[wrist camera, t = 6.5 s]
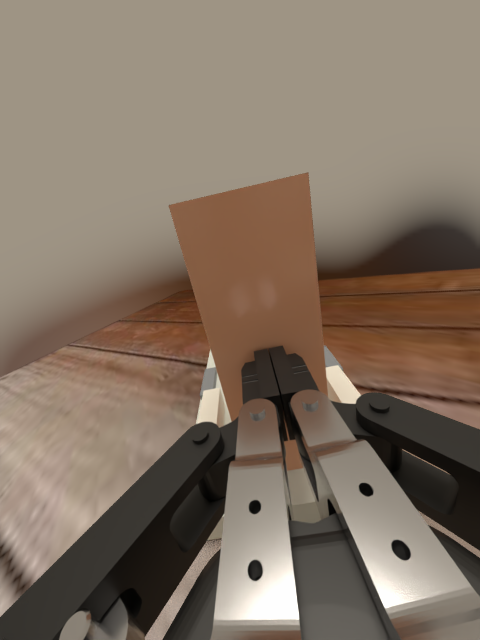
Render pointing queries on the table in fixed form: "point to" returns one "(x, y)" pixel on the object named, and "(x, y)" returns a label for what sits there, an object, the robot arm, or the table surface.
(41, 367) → the table surface
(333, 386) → the white stand base
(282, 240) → the block
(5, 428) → the table surface
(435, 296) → the table surface
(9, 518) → the table surface
